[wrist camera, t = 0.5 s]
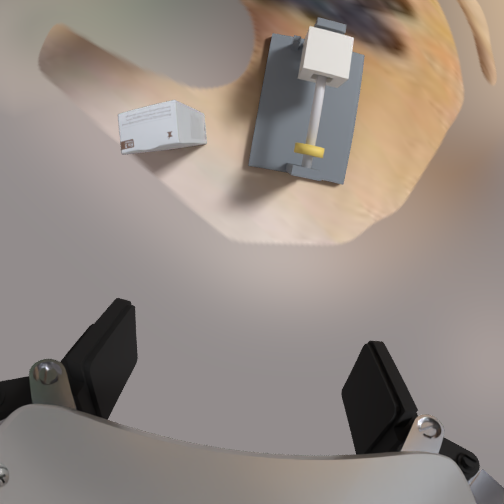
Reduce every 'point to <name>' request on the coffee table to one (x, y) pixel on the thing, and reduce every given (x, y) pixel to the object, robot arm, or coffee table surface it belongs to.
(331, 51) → the sleeve
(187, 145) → the skincare box
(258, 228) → the coffee table surface
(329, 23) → the slide rail
